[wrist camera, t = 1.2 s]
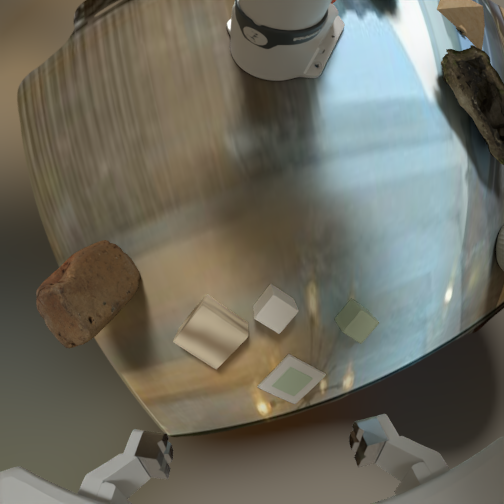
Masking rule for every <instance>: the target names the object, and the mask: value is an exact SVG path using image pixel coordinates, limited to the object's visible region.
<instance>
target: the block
mask: <svg viewBox="0 0 504 504" xmlns="http://www.w3.org/2000/svg"><path fill="white" fill-rule="evenodd" d="M139 280H140V274H139V271H138V269H137V268H136V266H135V264H134V263H133V261H132V260H131V258H130V257H129V256H128V255H127V254H126V253H124V252H123V251H122V249H121V248H120V247H118V246H117V245H116V244H112V243H109V241H106V240H104V241H100V242H97V243H94V244H92V245H90V246H88V247H85V248H83V249H81V250H80V251H78V252H76V253H75V254H73V255H72V256H71V257H70V258H68V259H67V260H66V261H65V262H64V263H63V264H62V265H61V267H60V268H59V269H57V270H56V271H55V272H54V273H53V274H52V275H51V276H50V277H48V278H47V279H46V280H45V281H44V282H43V283H42V284H41V285H40V287H39V288H38V289H37V292H36V294H37V309H38V311H39V313H40V315H41V316H42V317H43V318H44V320H45V323H46V325H47V327H48V328H49V330H50V331H51V332H52V333H53V334H54V336H55V337H56V338H57V339H58V340H59V341H60V342H61V344H63V345H64V346H65V347H66V348H72V347H75V346H78V345H82V344H84V343H86V342H88V341H89V340H91V339H92V338H93V337H95V336H96V335H97V334H98V333H99V332H100V331H101V330H102V329H103V328H104V327H105V326H106V325H107V324H108V323H109V322H110V321H111V320H112V319H113V318H114V316H116V315H117V313H118V312H119V311H120V310H121V309H122V308H123V307H124V306H125V305H126V304H127V303H128V302H129V301H130V299H131V298H132V297H133V295H134V294H135V293H136V291H137V289H138V281H139Z"/></svg>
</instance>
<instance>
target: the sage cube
mask: <svg viewBox="0 0 504 504" xmlns="http://www.w3.org/2000/svg"><path fill="white" fill-rule="evenodd" d="M335 321H336V323H337V324H338V326H339V327H340V329H341V331H342V332H343V333H345V334H346V335H348V336H349V337H351V338H352V339H354V340H355V341H357V342H359V343H360V344H361V343H362V342H363V341H364V340H365V339H366V338H367V337H368V335H369V334H370V333H371V332H372V331H373V330H374V329H375V327H376V326H377V325H378V324H379V322H378V321H377V319H376V318H375V317H374V316H373V315H372V314H371V313H370V312H369V311H368V310H367V309H365V308H364V307H363V306H361V305H360V304H359V303H357V302H356V301H355V300H353V299H352V298H351V300H350V301H349V302H348V303H347V304H346V306H345V307H344V308H343V309H342V310H341V312H340V313H339V314H338V315H337V316H336V318H335Z"/></svg>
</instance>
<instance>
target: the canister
mask: <svg viewBox="0 0 504 504" xmlns="http://www.w3.org/2000/svg"><path fill="white" fill-rule="evenodd" d="M496 257H497V261H498V264H499V266H500V268H501V269H502V270H503V271H504V225H503V226H502V228H501V230H500V231H499V234H498V238H497V244H496Z"/></svg>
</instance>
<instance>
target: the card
mask: <svg viewBox="0 0 504 504" xmlns="http://www.w3.org/2000/svg"><path fill="white" fill-rule="evenodd" d="M325 376H326V373H324V372H322V371H320V370H318V369H316V368H314V367H313V366H311V365H309V364H307V363H305V362H303V361H301V360H300V359H298V358H296V357H294V356H292V355H290V354H288V355H287V356H286V357H285V358H284V359H283V360H282V361H281V362H280V363H279V364H278V365H277V366H276V367H275V369H274V370H273V371H272V372H271V373H270V374H269V375H268V376H267V377H266V378H265V379H264V380H263V381H262V382H261V383H260V384H259V385H258V388H260V389H262V390H264V391H266V392H268V393H270V394H273V395H275V396H277V397H279V398H281V399H284V400H286V401H288V402H291V403H293V404H296V403H297V402H298V401H299V400H300V399H301V398H303V397H304V396H305V395H306V394H307V393H308V392H309V391H310V390H311V389H312V388H313V387H314V386H315V385H317V384H318V383H319V382H320V381H321V380H322V379H323V378H324V377H325Z"/></svg>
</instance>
